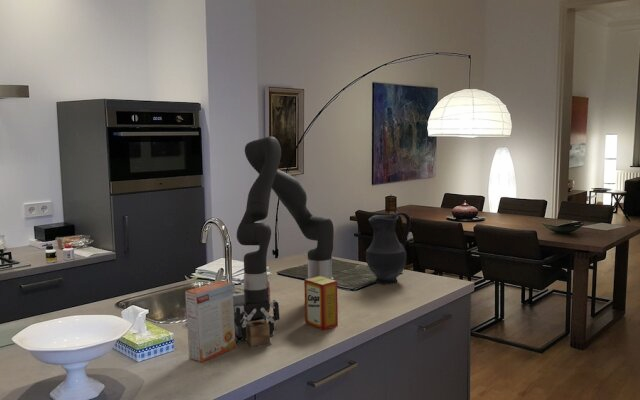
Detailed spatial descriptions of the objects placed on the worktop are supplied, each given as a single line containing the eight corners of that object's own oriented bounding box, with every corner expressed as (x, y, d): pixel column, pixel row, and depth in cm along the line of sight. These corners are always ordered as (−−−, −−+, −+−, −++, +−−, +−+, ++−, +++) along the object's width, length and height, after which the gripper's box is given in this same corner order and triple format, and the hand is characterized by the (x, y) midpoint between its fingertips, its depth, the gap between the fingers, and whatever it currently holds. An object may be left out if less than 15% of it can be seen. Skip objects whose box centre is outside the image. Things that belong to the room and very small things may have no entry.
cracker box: (223, 344, 186) (220, 279, 184) (236, 348, 183) (233, 282, 180) (187, 358, 176) (184, 290, 173) (200, 363, 172) (197, 293, 169)
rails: (260, 322, 206) (260, 319, 206) (273, 335, 193) (273, 332, 193) (223, 328, 201) (223, 325, 201) (234, 342, 188) (234, 338, 188)
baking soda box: (337, 325, 202) (337, 280, 200) (323, 330, 197) (322, 283, 195) (319, 319, 209) (318, 275, 207) (305, 323, 204) (304, 278, 202)
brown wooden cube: (264, 337, 191) (263, 319, 190) (269, 343, 185) (269, 324, 184) (246, 340, 188) (245, 322, 188) (251, 346, 183) (250, 327, 182)
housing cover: (256, 322, 204) (255, 291, 202) (266, 332, 194) (265, 299, 192) (229, 326, 200) (228, 294, 198) (238, 337, 190) (237, 303, 188)
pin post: (264, 337, 191) (264, 326, 191) (271, 344, 185) (271, 332, 185) (244, 341, 189) (244, 329, 188) (250, 348, 182) (250, 336, 182)
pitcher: (359, 279, 260) (358, 212, 256) (399, 273, 269) (399, 208, 265) (379, 289, 245) (379, 217, 241) (421, 282, 253) (421, 213, 249)
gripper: (273, 280, 191) (275, 328, 193) (230, 285, 185) (232, 335, 187) (281, 285, 184) (282, 336, 186) (236, 291, 178) (238, 343, 180)
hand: (257, 335), depth 187 cm, fingers open, 8 cm apart
